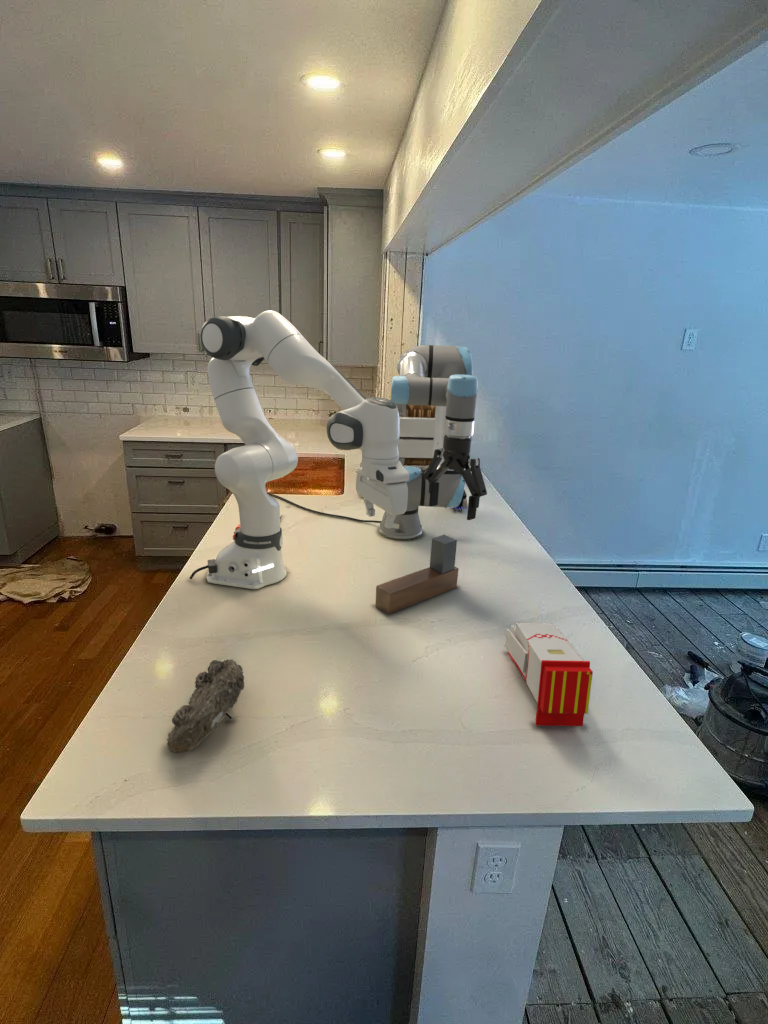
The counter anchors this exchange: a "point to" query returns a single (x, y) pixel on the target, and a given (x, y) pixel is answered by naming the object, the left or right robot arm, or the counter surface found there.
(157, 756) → the counter surface
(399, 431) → the left robot arm
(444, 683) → the counter surface
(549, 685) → the toy
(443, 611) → the counter surface
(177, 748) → the fossil
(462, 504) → the figurine character
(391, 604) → the walnut rail
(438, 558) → the grey block
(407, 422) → the white wooden box
